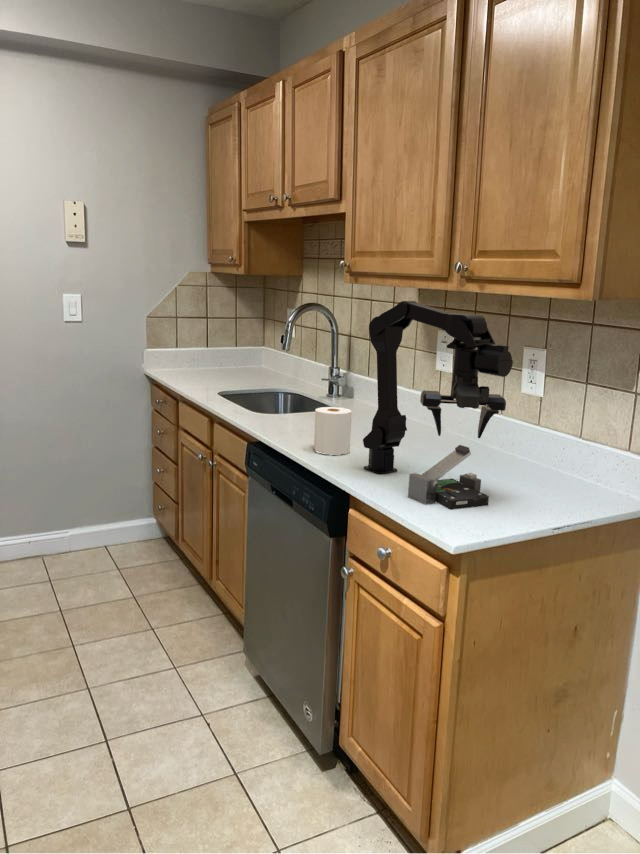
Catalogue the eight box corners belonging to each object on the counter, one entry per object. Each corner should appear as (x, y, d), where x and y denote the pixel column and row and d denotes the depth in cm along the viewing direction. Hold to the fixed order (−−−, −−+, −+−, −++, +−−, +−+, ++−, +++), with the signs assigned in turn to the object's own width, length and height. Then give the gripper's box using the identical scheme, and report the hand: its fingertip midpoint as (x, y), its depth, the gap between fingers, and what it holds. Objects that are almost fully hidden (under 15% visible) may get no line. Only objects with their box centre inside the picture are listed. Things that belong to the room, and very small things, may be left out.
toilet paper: (355, 454, 200) (357, 412, 197) (321, 456, 196) (322, 414, 194) (341, 446, 209) (343, 406, 206) (308, 448, 205) (310, 407, 203)
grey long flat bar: (420, 479, 163) (418, 473, 162) (459, 450, 168) (458, 444, 168) (432, 483, 160) (430, 478, 159) (472, 453, 165) (470, 448, 164)
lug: (458, 488, 171) (460, 472, 171) (464, 486, 173) (466, 471, 172) (474, 493, 167) (475, 477, 167) (480, 492, 169) (481, 476, 168)
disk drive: (489, 508, 160) (451, 488, 173) (490, 496, 159) (452, 477, 172) (450, 512, 155) (415, 492, 169) (451, 500, 155) (416, 480, 168)
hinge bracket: (407, 496, 163) (408, 473, 162) (416, 494, 165) (418, 472, 164) (426, 504, 158) (428, 481, 157) (436, 502, 160) (438, 479, 159)
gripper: (429, 373, 154) (423, 443, 157) (515, 378, 154) (507, 447, 157) (422, 366, 165) (417, 431, 168) (503, 370, 164) (496, 435, 168)
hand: (459, 436), depth 165 cm, fingers open, 9 cm apart
